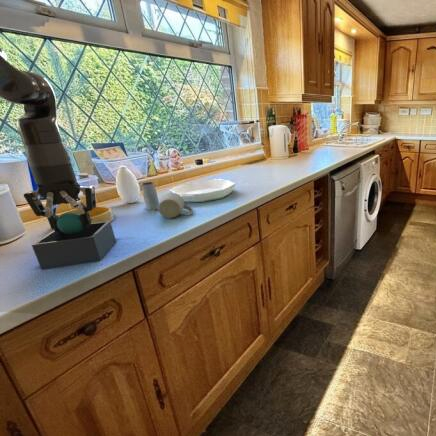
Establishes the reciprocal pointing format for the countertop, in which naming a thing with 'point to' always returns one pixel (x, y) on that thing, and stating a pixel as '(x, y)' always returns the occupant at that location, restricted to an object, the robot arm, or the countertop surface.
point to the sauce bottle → (127, 185)
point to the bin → (75, 246)
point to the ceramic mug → (173, 206)
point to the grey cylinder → (150, 195)
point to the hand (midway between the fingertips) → (73, 228)
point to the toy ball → (70, 223)
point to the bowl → (97, 214)
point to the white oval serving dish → (204, 190)
